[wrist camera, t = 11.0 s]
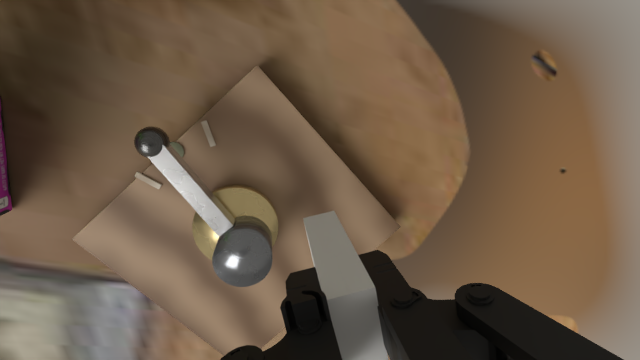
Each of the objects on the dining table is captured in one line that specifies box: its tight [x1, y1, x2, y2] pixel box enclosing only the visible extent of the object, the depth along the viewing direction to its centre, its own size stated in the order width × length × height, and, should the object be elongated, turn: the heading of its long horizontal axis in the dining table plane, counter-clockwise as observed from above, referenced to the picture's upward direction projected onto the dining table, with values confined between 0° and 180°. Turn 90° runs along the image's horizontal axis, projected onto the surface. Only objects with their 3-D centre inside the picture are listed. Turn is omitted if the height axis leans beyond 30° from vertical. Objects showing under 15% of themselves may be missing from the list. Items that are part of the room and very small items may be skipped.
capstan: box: [134, 127, 278, 287], centre depth 30 cm, size 16×8×6 cm, turn 35°
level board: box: [72, 65, 400, 356], centre depth 36 cm, size 24×22×2 cm
